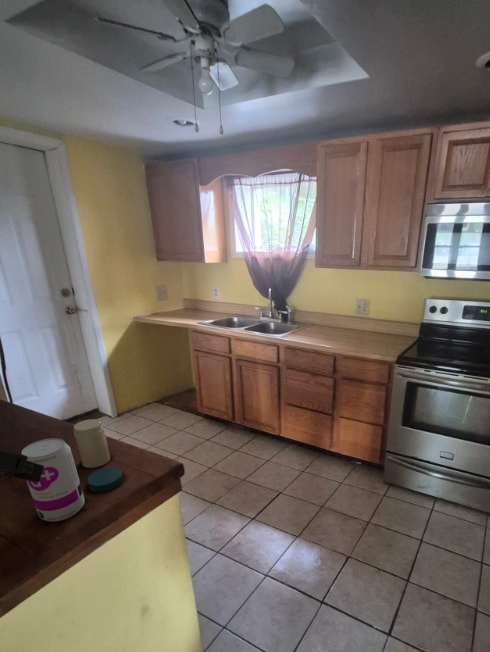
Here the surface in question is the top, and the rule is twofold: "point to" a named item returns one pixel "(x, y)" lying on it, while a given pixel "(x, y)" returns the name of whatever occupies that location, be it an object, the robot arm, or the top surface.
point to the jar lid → (105, 479)
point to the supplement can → (54, 480)
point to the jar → (91, 443)
